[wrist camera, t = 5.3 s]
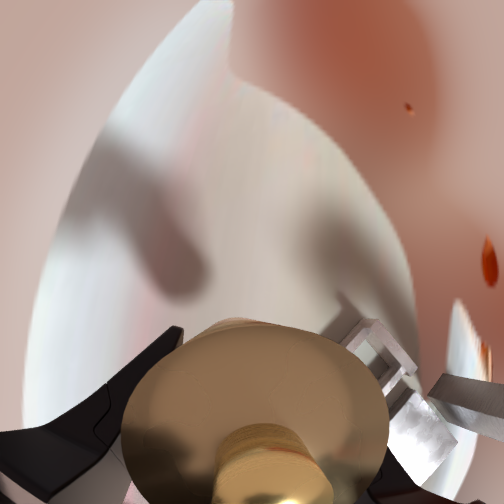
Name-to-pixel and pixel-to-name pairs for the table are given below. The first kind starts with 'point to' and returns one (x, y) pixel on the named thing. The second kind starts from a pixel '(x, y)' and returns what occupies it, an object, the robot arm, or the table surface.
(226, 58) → the table surface
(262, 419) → the disc
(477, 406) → the press bed
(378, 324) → the guide rail
